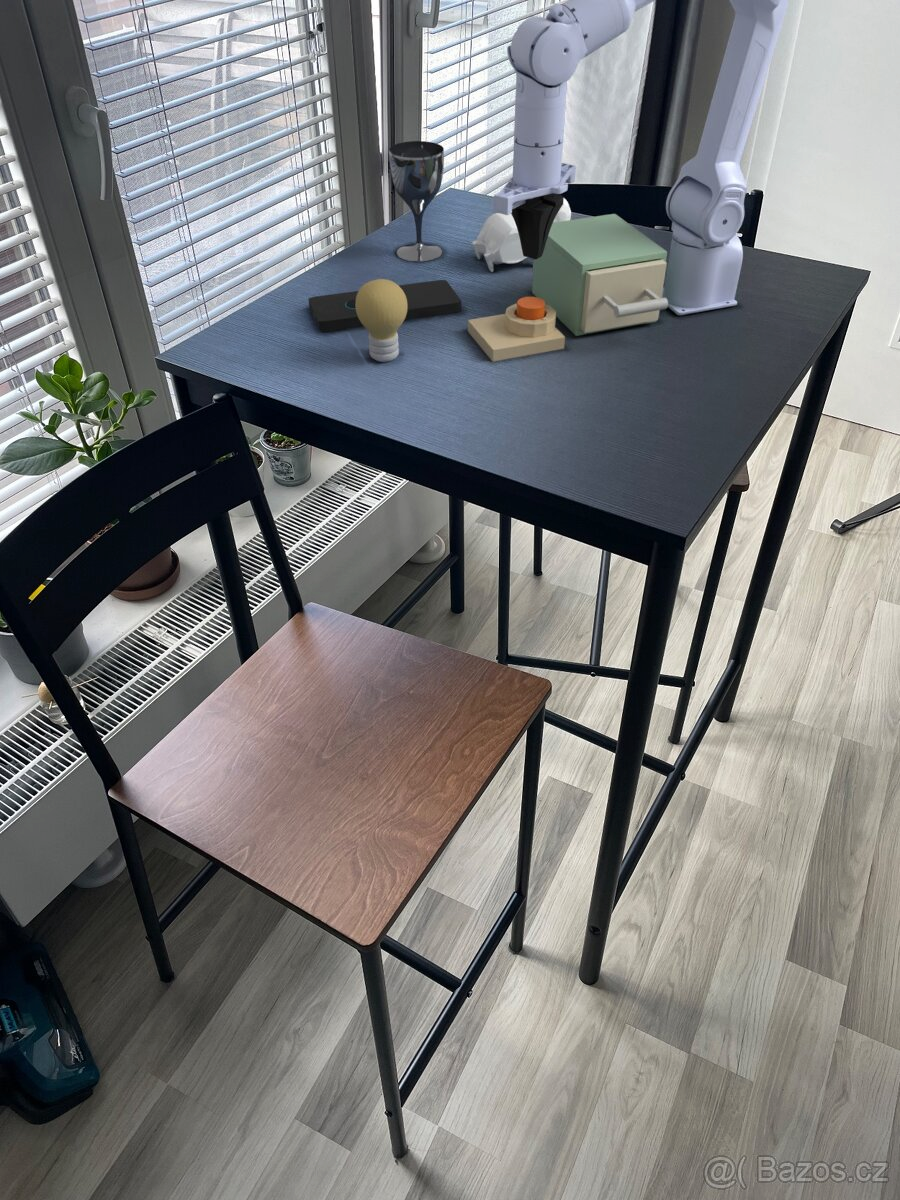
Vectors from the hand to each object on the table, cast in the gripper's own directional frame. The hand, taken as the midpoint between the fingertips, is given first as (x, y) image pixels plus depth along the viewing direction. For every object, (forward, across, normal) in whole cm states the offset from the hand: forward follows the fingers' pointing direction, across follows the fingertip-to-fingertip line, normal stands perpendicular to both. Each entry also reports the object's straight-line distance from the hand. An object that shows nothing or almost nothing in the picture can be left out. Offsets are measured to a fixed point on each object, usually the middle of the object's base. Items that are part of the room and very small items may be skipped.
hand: (532, 256), depth 116 cm
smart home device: (+10, -7, +20) cm, 23 cm away
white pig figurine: (+10, +20, +15) cm, 27 cm away
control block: (+10, -3, 0) cm, 11 cm away
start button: (+7, -1, -1) cm, 7 cm away
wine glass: (+10, +12, +29) cm, 33 cm away
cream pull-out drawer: (+9, +10, -6) cm, 15 cm away
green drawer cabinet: (+10, +12, -3) cm, 16 cm away
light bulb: (+10, -17, +10) cm, 23 cm away
